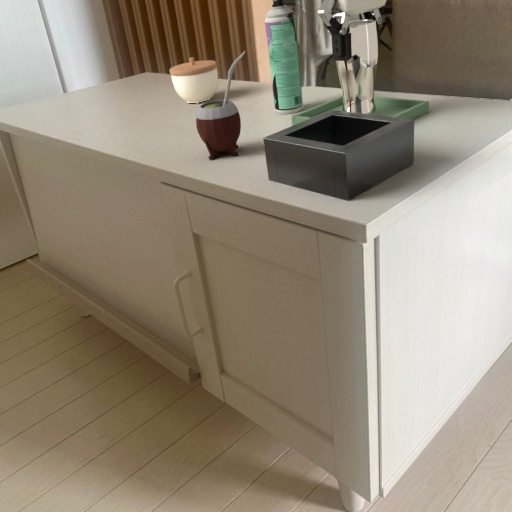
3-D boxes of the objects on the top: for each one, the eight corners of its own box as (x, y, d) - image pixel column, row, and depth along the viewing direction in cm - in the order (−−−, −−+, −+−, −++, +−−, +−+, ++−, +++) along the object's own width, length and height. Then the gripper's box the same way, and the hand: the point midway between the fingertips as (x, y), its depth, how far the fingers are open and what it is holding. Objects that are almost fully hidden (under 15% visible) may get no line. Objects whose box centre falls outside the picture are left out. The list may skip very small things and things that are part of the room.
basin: (414, 163, 73) (414, 119, 70) (348, 200, 65) (345, 153, 62) (333, 148, 82) (331, 109, 79) (268, 179, 75) (262, 137, 72)
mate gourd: (193, 158, 88) (174, 62, 80) (227, 142, 92) (212, 51, 85) (225, 163, 83) (208, 62, 76) (259, 147, 88) (246, 50, 80)
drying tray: (428, 111, 92) (429, 101, 91) (373, 138, 84) (373, 127, 83) (347, 103, 104) (347, 93, 103) (292, 126, 96) (291, 116, 95)
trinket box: (179, 109, 119) (170, 65, 114) (174, 99, 128) (165, 58, 124) (226, 100, 120) (219, 56, 116) (218, 91, 130) (211, 50, 125)
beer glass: (353, 124, 90) (348, 27, 83) (331, 116, 96) (325, 26, 88) (387, 114, 92) (386, 19, 85) (364, 107, 98) (361, 18, 90)
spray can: (305, 105, 107) (295, -6, 98) (300, 113, 103) (290, -3, 93) (278, 107, 109) (265, -2, 99) (272, 115, 104) (259, 1, 94)
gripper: (332, -68, 73) (340, 68, 82) (406, -78, 82) (406, 44, 91) (293, -61, 78) (304, 66, 87) (366, -71, 88) (370, 44, 96)
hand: (356, 54), depth 89 cm, fingers closed on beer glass, 7 cm apart
